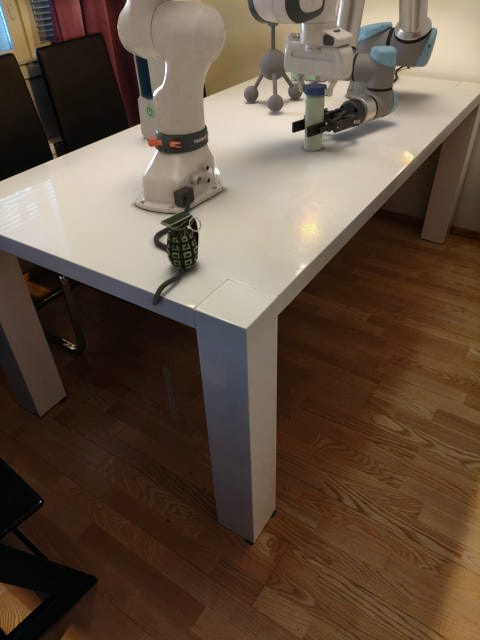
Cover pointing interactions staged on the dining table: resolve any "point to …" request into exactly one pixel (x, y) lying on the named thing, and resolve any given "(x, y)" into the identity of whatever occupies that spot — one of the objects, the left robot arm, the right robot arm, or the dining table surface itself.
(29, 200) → the dining table surface
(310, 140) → the jar
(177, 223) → the grenade
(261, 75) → the molecular model
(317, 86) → the lid
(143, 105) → the electronic device
